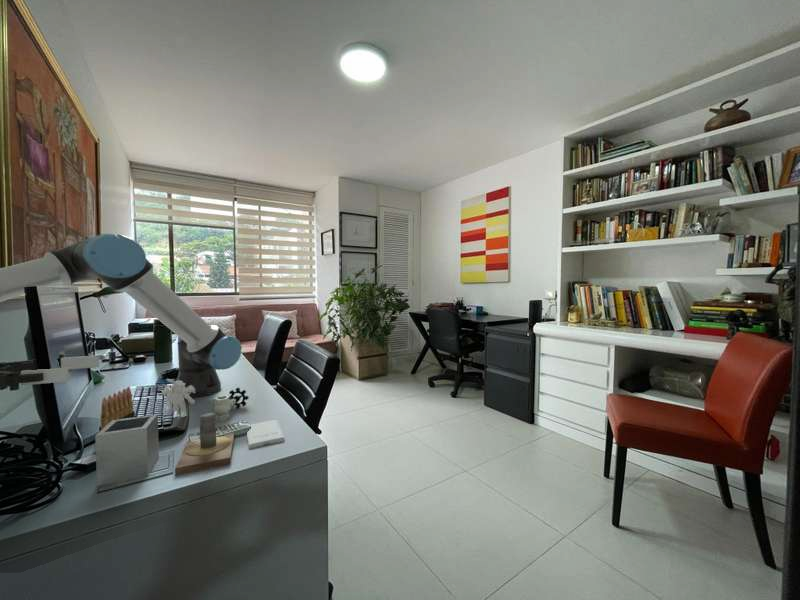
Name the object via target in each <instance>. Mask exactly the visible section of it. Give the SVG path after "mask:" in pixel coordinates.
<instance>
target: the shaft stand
mask: <svg viewBox="0 0 800 600" xmlns="http://www.w3.org/2000/svg"><path fill="white" fill-rule="evenodd" d="M216 432H217V421H216V414H215V412H208V413H204V414H201V415H200V416H199V435H200V440H199V441H197V442H194V443H192V442H190V436H189V437H188V440H187V441H186V443H185V446H184V448H183V450H182V452H181V455H180V457H179V458H178V461H177V463H176V465H175V468H174V475H175V476H179V475H183V474H189V473H193V472H194V473H196V472H198V471H203V470H208V469H213V468H219V467H223V466H228V465H231V463H232V456H233V450H234V442H235V437H234V433H231V434H227V435H224V436H221V437H216Z"/></svg>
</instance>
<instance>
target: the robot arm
mask: <svg viewBox="0 0 800 600" xmlns="http://www.w3.org/2000/svg"><path fill="white" fill-rule="evenodd" d="M96 279H97V280H98V279H99V280H100V281H101V282H103V283H104V284H105V285H107V286H108V287H109V288H110V289H111V290H113V292H121V293H122V292H123V293H126V294H127V295H128V296H130V297H131V298H132V299H133V300H134V302H137V303H138V304H139V305H140V306H142V308H143V309H145V310H146V311H147V312H149V313H150V314H151V315H152V316H153V317H154V318H156V319H157V320H158V321H160V322H161V324H163V325H164V326H165V327H167V328H168V329H169V330H170V331H171V332H172V333H174V334H175V335H176V336H177V355H178V357H177V358H178V376H177V378H176V381H178V380H180V381H183V382H184V383H185V388H187V387H189V385H191V384H192V385H191V386H194V389H195V391H194V392H195V393H193V392H191V393H190V392H188V393H190V394H189V396H190V397H191V398H192V399H193V398H199V397H204V396H209V395H212V394H214V393H217V392H219V391H220V390H222V382H221V380H220V377H219V374H218V373H217V371H219V370H223V371H224V370H228V369H230V368H232V367H233V366H235V365H236V364H237V362H239V360H240V358H241V355H242V349H243V348H242V344H241V341H240V340H239V339H237V337H234V336H232V335H227V334H226V333H225V332H224V331H223V330H222V329H221V328H220V327H219V326H218V325H216V324H214V325H212V324H211V325H209V324H208V323H207V321H205V319H203V318H202V317H201V316H200V315H199V313H197V312H196V311H195V310H194V309H193V308H191V307H190V306H189V305H188V304H187V303H186V302H185V301H184V300H183V299H181V297H180V296H178V294H176V293H175V292H174V291H173V290H172V289H171V288H170V287H169V286H168V285H167V284H166V283H164V282H163V281H162V279H160V278H159V276H157V274H155V273H154V265H153V264H152V263H151V262H150V261H149V260H148V259H147V254H146V251H145V250H144V248H143V246H142V245H141V244H140V243H139V242H137V241H136V240H134V239H133V238H130V237H129V236H126V235H123V234H117V233H102V234H97V235H95V236H93V237H92V236H91V237H89V238H84V239H82V240H79V241H77V242H74V243H71V244H70V245H68V246H64V247H62V248H58V249H54V250H51V251H48V252H47V251H46V252H45V253H44V256H42V257H40V258H37V259H32V260H28V261H24V262H20V263H16V264H12V265H9V266H4V267H0V303H2V302H5V301H8V300H12V299H14V298H18V297H22V296H24V295H26V294H25V293H24V287H26V286H31V285H38V286H44V287H47V288H50V287H54V286H57V285H60V284H63V285H67V286H69V285H72V284H76V283H80V282H84V281H90V280H96ZM64 355H65V354H58V357H59V358H58V359H57V360H58V362H59V366H60V368H50V369H37V370H30V368H32V366H33V360H34V359H28V360H19V361H8V362H5V361H1V362H0V391H3V390H6V389H8V388H9V392H10V391H11V392H12V391H19V390H20V385H21V386H30V385H31V386H32V385H41V384H51V383H52V384H53V383H62V382H63V383H65V382H69V380H70V379H69V370H78V369H80V370H81V369H91V368H98V367H99V368H100V355H99V354H98V355H83V356H82V355H81V356H70V357H67V356H64ZM183 382H182V383H183Z"/></svg>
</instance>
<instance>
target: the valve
mask: <svg viewBox="0 0 800 600" xmlns="http://www.w3.org/2000/svg"><path fill="white" fill-rule="evenodd" d="M228 393H229V395H230V396H229V395H221V396H217V397H215V398H214V405H215V406H214V408H213V410H214V412H213V413H215V414H216V423H222V422H226V421H228V420H230V418H231V413H230V411H231V410H232V409H233V407H234V406H235V409H240V408H241V405H242V407H245V406H246V405H247V400H249V398H250V397H249V396H248V395H245V394H247V390H246V389H243V390H241V388H240V387H237V388H235V391H234V390H233V389H232V390H230V391H229V392H228ZM236 394H237V395H236ZM241 399H242V401H241Z"/></svg>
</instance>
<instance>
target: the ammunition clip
mask: <svg viewBox="0 0 800 600" xmlns="http://www.w3.org/2000/svg"><path fill="white" fill-rule="evenodd" d="M133 403H134V402H133V398H132V390H131V388H130V387H129V386H128V387H127V388H126V389H125V388H124V389H122V391H121V390H119V391H118V392H117V393H113V395H110V394H109V395H108V397H107V398H106V397H103V399H102V401H101V410H100V411H101V413H100V426H99V427H98V433H99V432H100V431H101V430H102V429H103V428H104V427H105V426H107V425H108V424H109V423H110V422H111V421H112V420H119V419H126V418H134V417H136V416H135V413H136V412H135V410H134V404H133Z"/></svg>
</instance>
